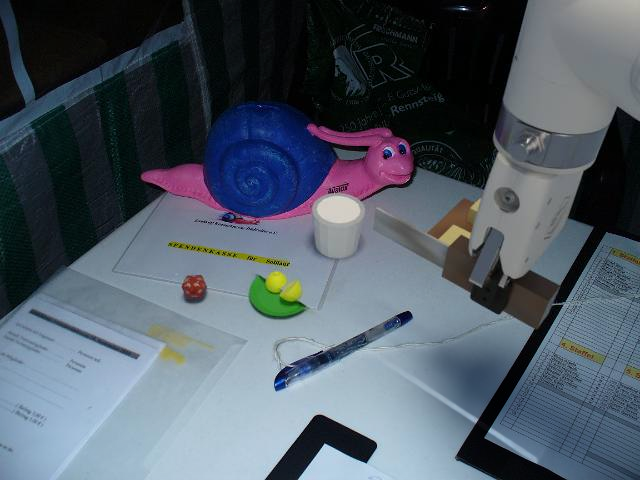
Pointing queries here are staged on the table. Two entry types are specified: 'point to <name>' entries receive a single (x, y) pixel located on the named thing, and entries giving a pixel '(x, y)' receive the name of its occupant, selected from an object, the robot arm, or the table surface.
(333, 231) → the white ramekin
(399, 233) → the knife
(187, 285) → the die
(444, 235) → the butter
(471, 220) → the butter slice
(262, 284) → the green and yellow piece
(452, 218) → the cutting board
